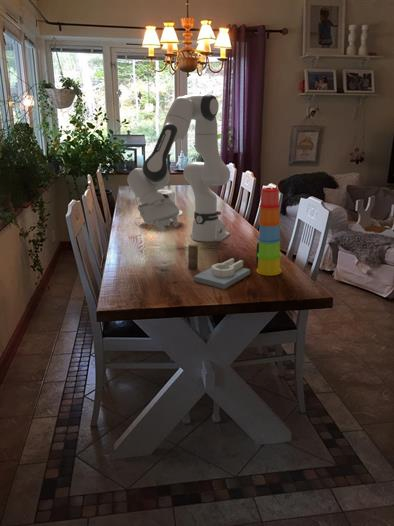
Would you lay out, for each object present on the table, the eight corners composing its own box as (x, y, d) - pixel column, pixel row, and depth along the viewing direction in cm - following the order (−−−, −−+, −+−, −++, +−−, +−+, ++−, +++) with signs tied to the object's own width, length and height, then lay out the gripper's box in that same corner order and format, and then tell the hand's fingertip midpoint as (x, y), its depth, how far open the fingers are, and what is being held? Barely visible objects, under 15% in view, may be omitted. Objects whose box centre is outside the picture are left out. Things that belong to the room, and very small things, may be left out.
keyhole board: (223, 266, 188) (223, 256, 186) (251, 272, 180) (252, 262, 179) (193, 280, 171) (193, 270, 170) (224, 289, 164) (224, 277, 162)
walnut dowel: (191, 265, 188) (191, 243, 185) (199, 267, 186) (199, 245, 183) (186, 268, 185) (186, 245, 182) (194, 270, 183) (194, 247, 180)
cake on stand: (143, 218, 272) (142, 187, 266) (183, 219, 271) (183, 188, 265) (136, 228, 248) (135, 195, 242) (180, 229, 247) (180, 195, 241)
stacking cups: (275, 277, 175) (281, 191, 164) (252, 272, 180) (256, 188, 169) (285, 270, 183) (291, 187, 172) (262, 266, 189) (267, 185, 177)
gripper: (139, 201, 179) (158, 227, 177) (171, 194, 195) (188, 218, 192) (132, 210, 183) (150, 236, 180) (163, 202, 198) (180, 227, 196)
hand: (170, 227), depth 187 cm, fingers open, 8 cm apart
